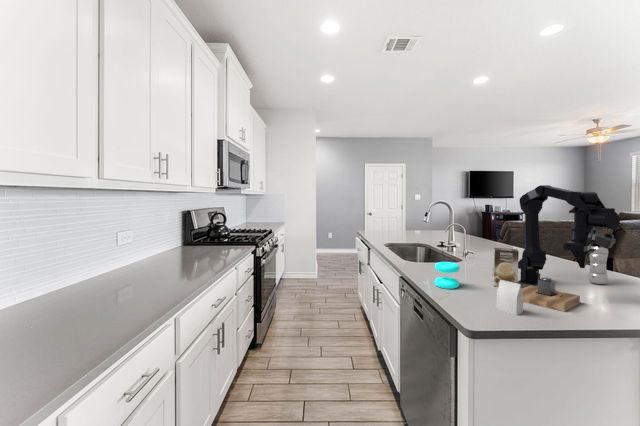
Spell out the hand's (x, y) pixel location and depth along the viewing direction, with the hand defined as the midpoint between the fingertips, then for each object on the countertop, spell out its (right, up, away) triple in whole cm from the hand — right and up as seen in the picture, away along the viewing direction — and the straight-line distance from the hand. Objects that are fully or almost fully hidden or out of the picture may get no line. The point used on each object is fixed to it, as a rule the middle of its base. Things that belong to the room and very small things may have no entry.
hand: (582, 267), depth 117 cm
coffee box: (-17, -12, +21) cm, 29 cm away
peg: (-14, -13, 0) cm, 18 cm away
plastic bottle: (+26, -11, +23) cm, 36 cm away
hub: (-13, -12, 0) cm, 18 cm away
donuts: (-42, -12, +21) cm, 48 cm away
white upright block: (-33, -13, -9) cm, 36 cm away
